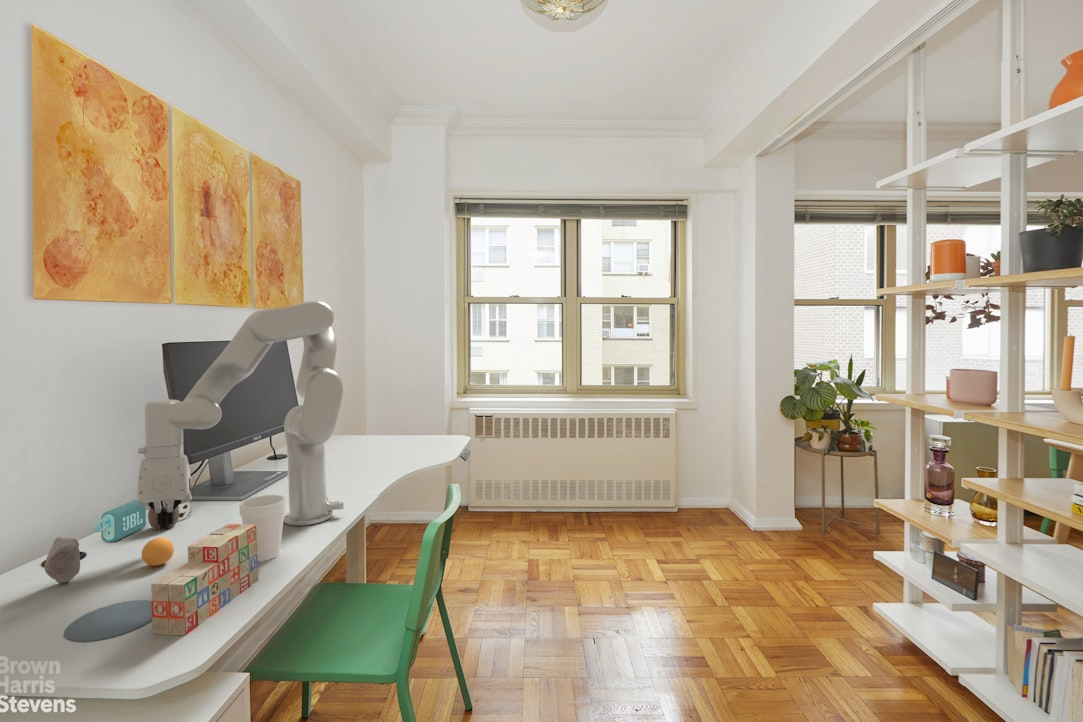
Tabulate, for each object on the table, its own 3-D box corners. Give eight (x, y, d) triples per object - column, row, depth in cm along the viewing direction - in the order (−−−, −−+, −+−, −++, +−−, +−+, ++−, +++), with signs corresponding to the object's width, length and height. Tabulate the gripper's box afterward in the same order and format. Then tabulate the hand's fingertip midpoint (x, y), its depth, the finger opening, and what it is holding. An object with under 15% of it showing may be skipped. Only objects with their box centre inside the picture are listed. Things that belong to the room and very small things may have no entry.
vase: (164, 533, 145) (162, 500, 144) (142, 531, 146) (140, 498, 145) (186, 523, 151) (184, 492, 151) (164, 522, 153) (163, 491, 152)
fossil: (48, 591, 113) (45, 543, 112) (41, 587, 115) (38, 540, 114) (83, 580, 118) (80, 534, 117) (76, 576, 119) (73, 531, 119)
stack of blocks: (186, 637, 96) (182, 567, 95) (152, 635, 97) (148, 566, 96) (259, 580, 117) (256, 523, 117) (231, 579, 118) (228, 522, 117)
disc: (171, 595, 111) (171, 594, 110) (147, 632, 97) (147, 631, 97) (85, 608, 106) (85, 607, 106) (48, 648, 93) (48, 647, 93)
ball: (177, 557, 129) (176, 532, 129) (170, 568, 123) (168, 541, 123) (147, 561, 127) (146, 535, 127) (138, 572, 121) (136, 545, 121)
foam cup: (296, 550, 132) (294, 497, 132) (265, 566, 124) (262, 509, 123) (264, 545, 136) (262, 493, 135) (232, 561, 127) (230, 505, 126)
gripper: (121, 456, 126) (122, 536, 127) (196, 453, 131) (197, 529, 132) (133, 450, 133) (134, 525, 134) (204, 447, 138) (205, 519, 139)
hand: (166, 527), depth 133 cm, fingers closed
